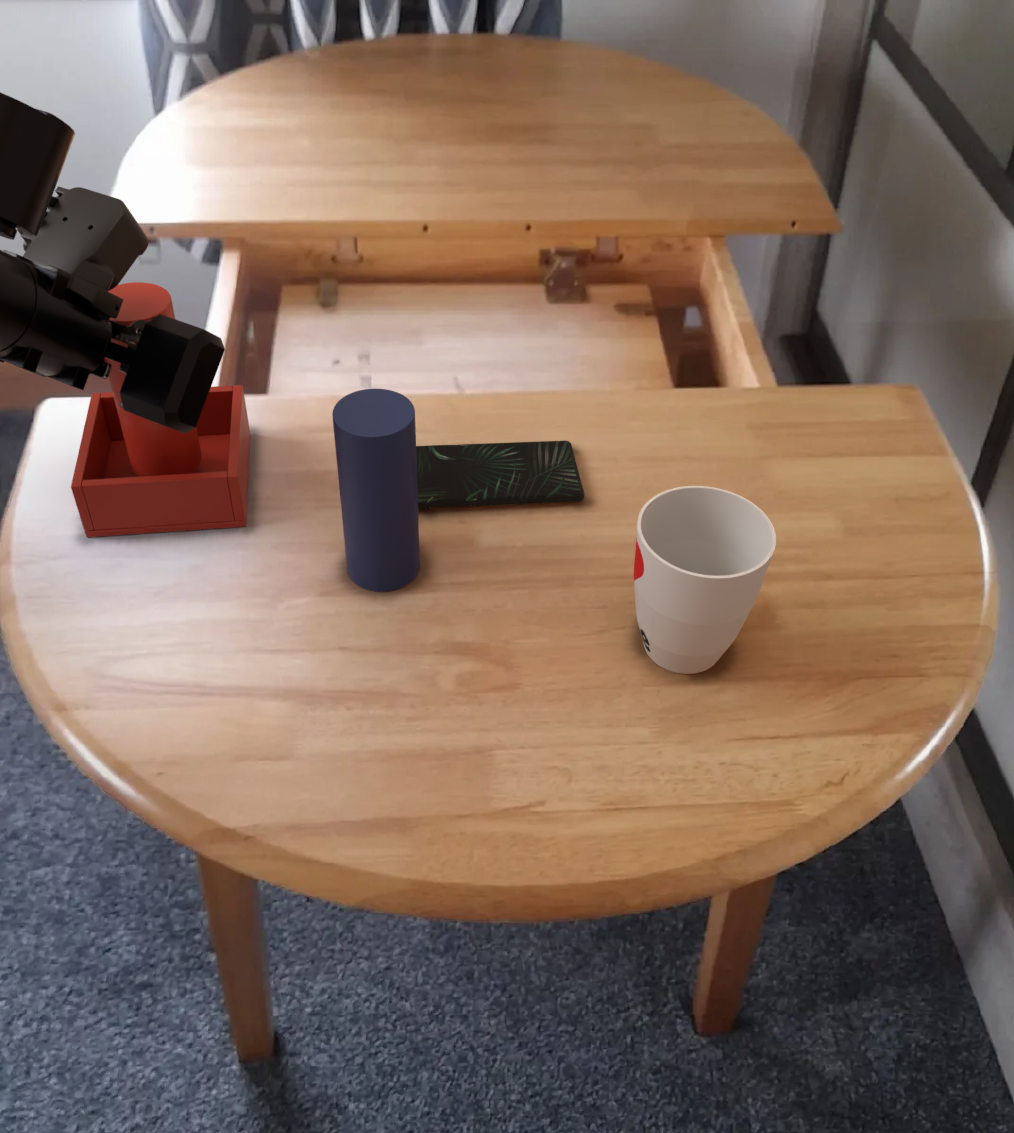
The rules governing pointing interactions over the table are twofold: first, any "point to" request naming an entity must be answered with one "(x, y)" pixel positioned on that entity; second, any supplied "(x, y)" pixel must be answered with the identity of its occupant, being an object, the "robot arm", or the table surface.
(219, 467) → the red bin
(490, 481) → the smartphone
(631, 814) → the table surface
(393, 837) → the table surface
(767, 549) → the cup
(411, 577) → the navy cylinder
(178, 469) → the red cylinder
